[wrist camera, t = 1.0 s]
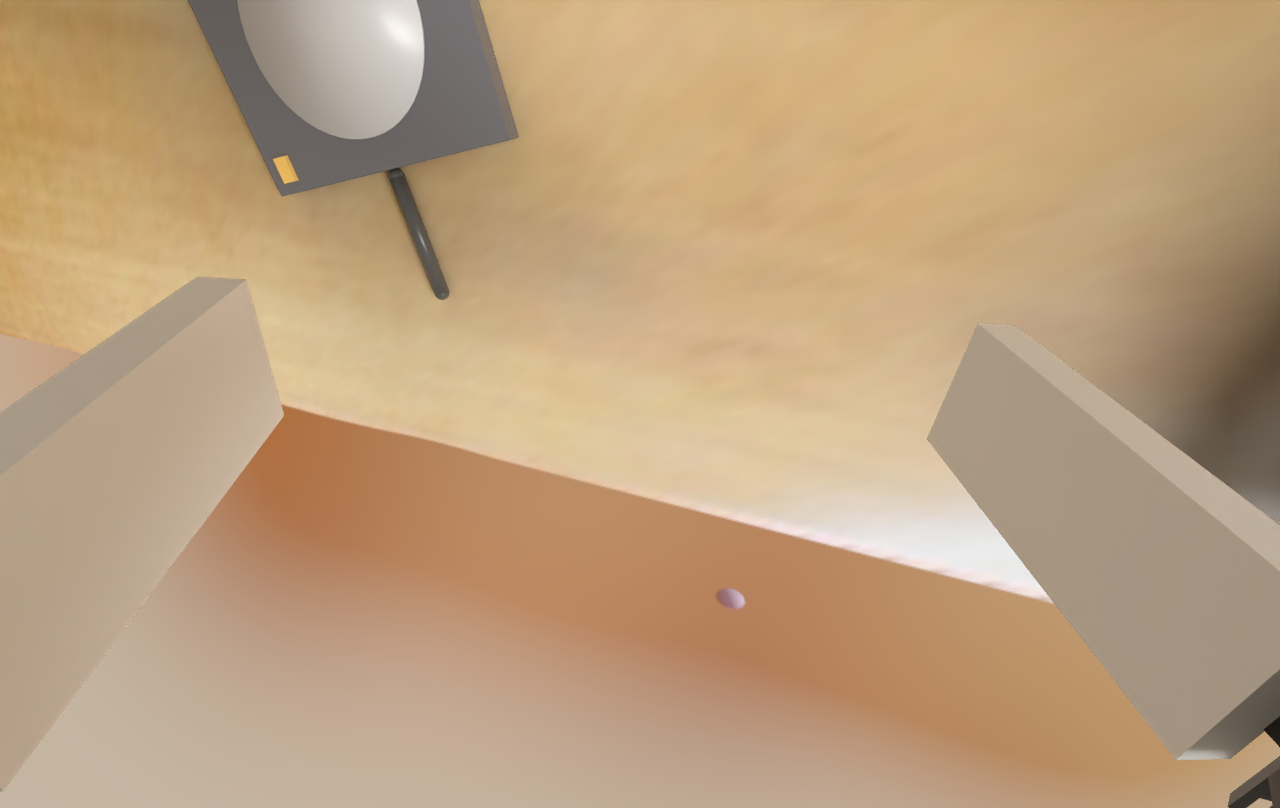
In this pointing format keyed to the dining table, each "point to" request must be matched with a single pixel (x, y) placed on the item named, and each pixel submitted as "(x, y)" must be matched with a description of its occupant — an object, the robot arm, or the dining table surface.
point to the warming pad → (360, 89)
